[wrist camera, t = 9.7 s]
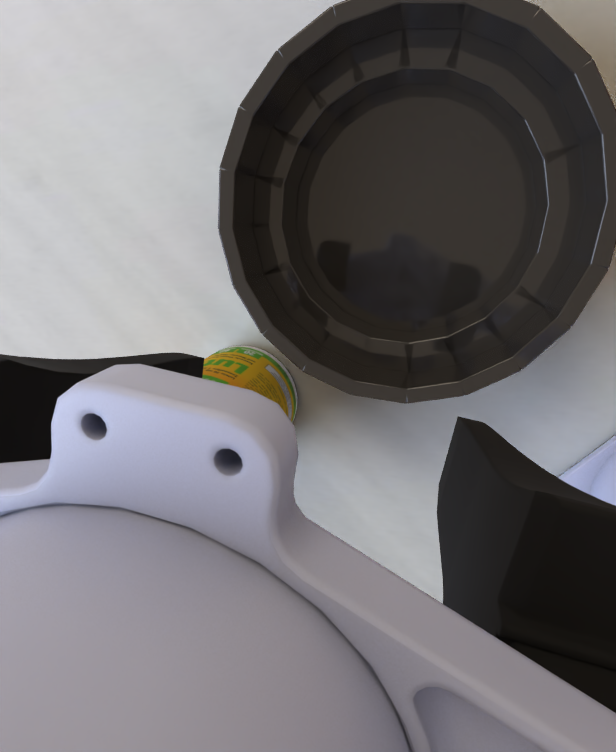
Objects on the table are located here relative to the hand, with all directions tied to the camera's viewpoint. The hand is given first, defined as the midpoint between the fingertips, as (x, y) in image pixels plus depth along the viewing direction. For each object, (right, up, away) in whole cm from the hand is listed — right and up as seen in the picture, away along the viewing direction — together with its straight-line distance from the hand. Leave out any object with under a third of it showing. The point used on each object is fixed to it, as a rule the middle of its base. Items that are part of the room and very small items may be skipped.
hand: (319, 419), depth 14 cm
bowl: (+4, +8, +8) cm, 12 cm away
